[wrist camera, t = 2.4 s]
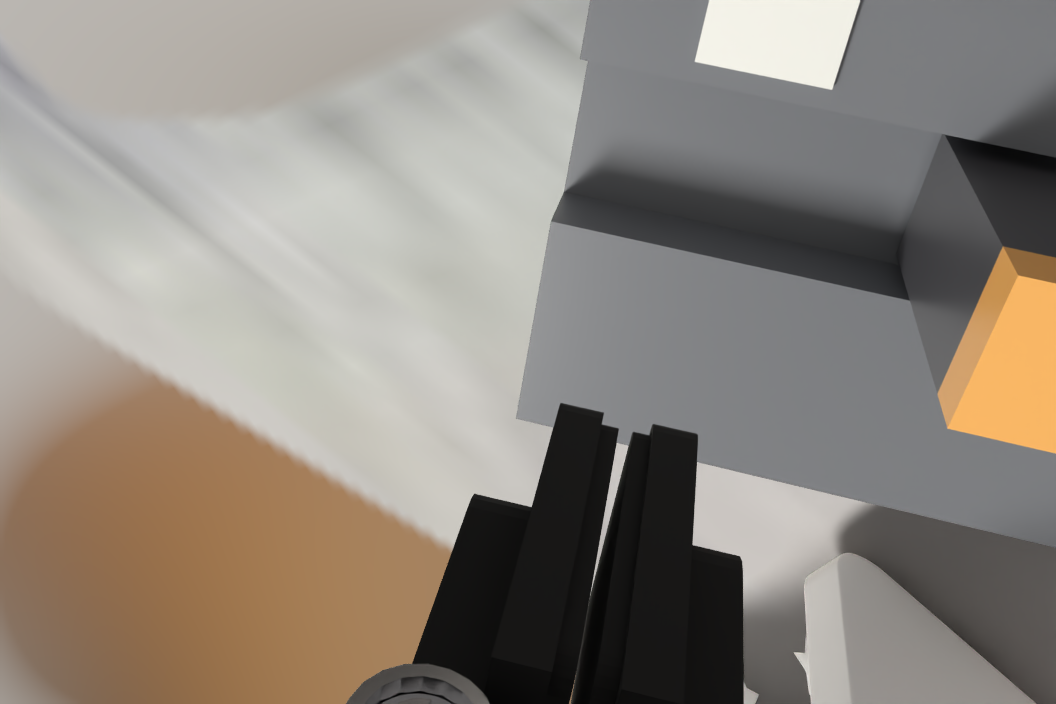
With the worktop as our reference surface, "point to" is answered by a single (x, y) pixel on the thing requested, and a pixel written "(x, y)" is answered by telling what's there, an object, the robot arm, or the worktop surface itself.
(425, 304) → the worktop surface
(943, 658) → the cable organizer
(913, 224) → the block
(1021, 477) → the breaker panel
